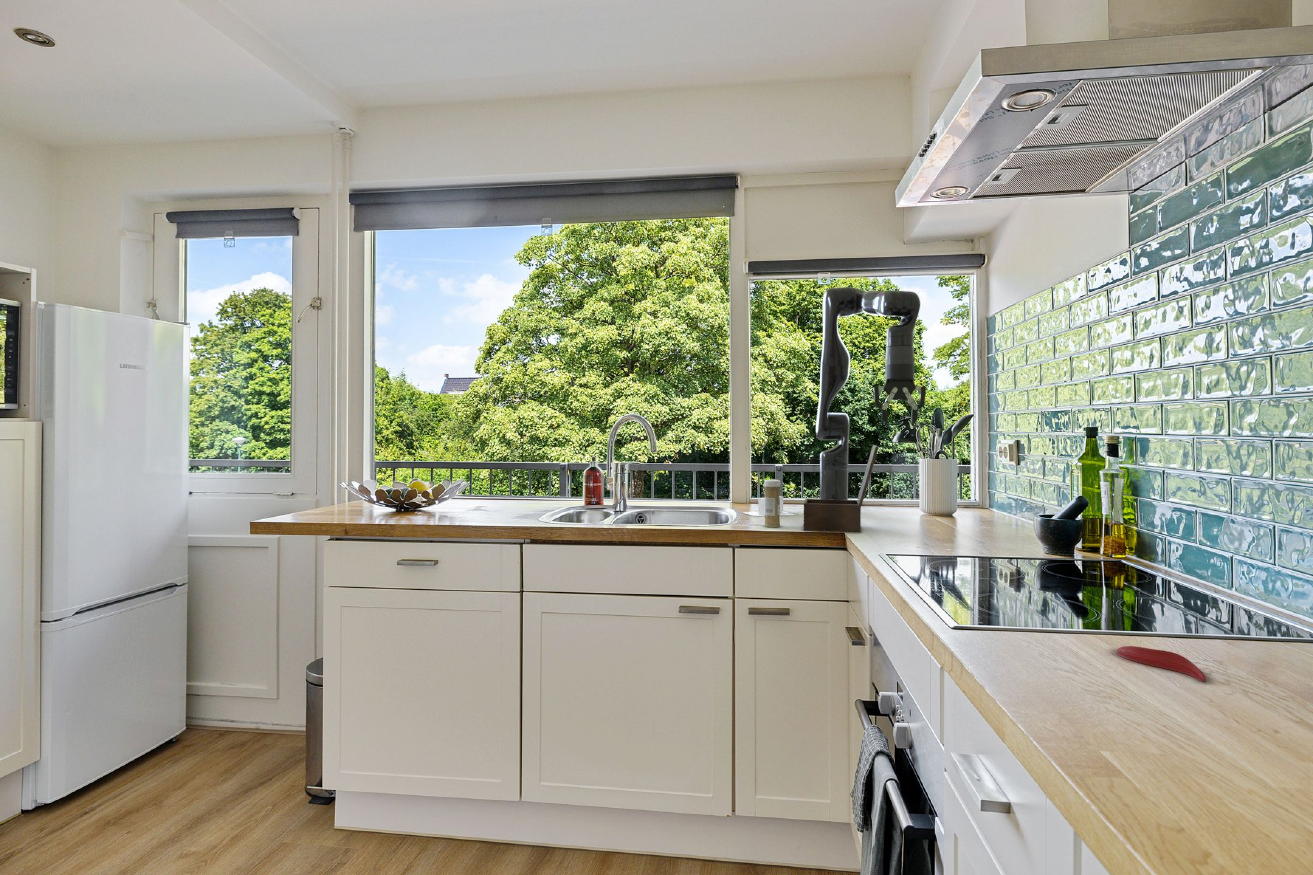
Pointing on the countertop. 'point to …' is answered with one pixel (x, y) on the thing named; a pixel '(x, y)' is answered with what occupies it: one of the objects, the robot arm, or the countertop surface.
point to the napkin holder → (762, 508)
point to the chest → (832, 515)
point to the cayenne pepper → (1161, 660)
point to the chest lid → (867, 473)
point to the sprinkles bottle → (772, 503)
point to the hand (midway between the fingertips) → (899, 423)
